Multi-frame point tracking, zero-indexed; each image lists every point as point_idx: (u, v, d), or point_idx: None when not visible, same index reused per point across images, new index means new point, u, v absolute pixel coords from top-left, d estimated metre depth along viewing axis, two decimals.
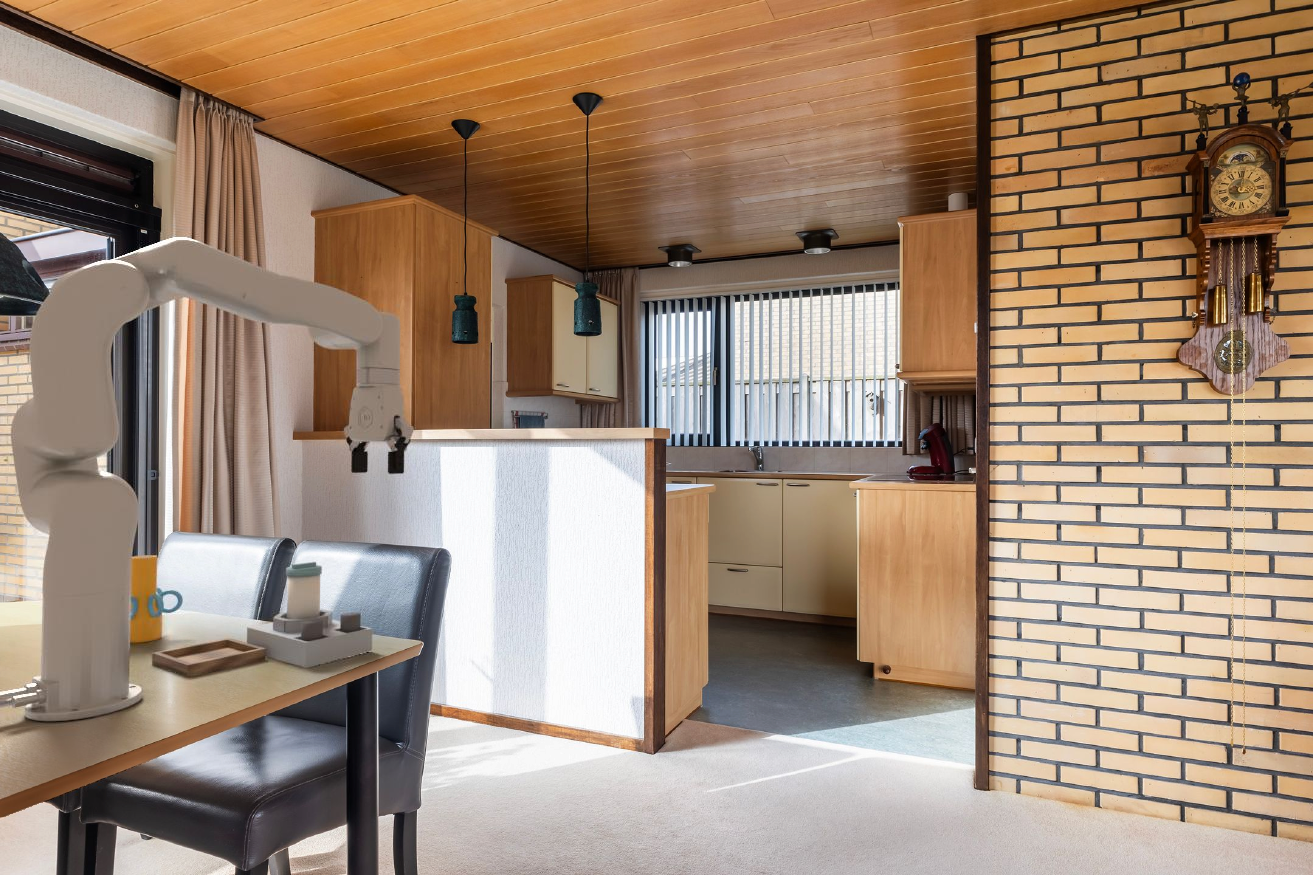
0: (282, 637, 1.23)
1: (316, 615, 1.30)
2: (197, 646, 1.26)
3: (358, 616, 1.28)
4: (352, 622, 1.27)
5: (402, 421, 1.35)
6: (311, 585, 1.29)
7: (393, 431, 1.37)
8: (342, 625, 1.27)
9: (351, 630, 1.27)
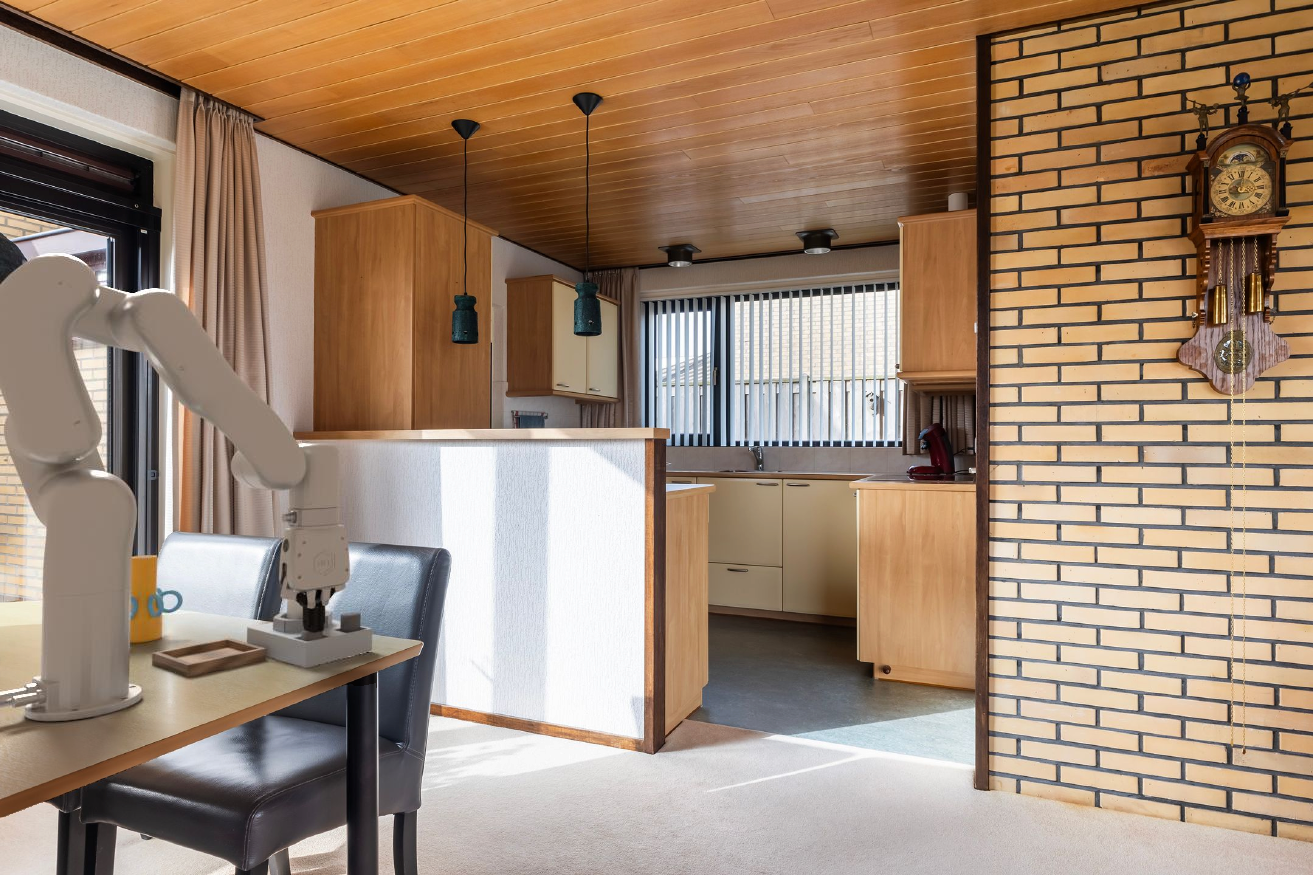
0: (282, 637, 1.23)
1: None
2: (197, 646, 1.26)
3: (358, 616, 1.28)
4: (352, 622, 1.27)
5: None
6: None
7: None
8: (342, 625, 1.27)
9: (351, 630, 1.27)
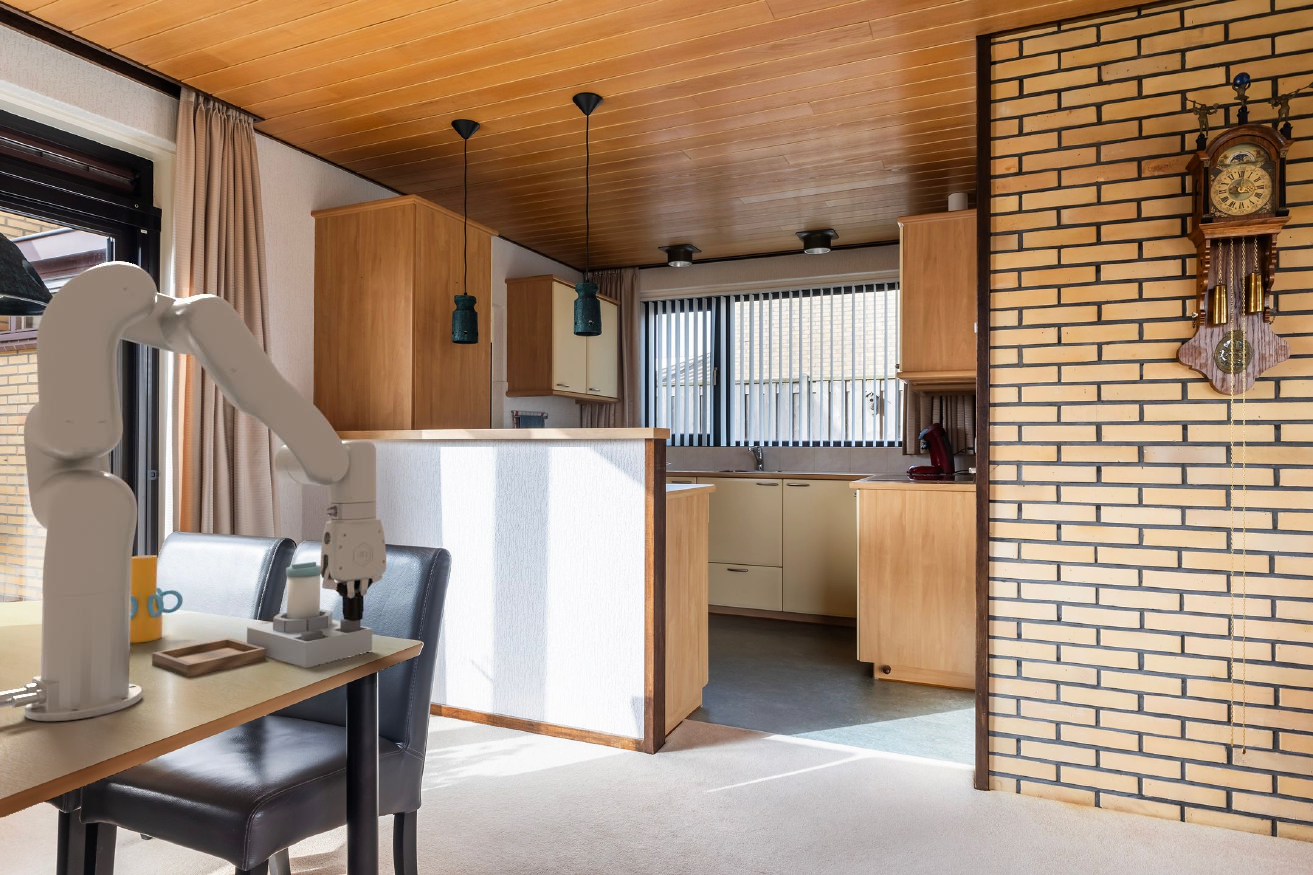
0: (282, 637, 1.23)
1: (316, 615, 1.30)
2: (197, 646, 1.26)
3: (358, 621, 1.28)
4: (352, 627, 1.27)
5: None
6: (311, 585, 1.29)
7: None
8: (342, 630, 1.27)
9: None
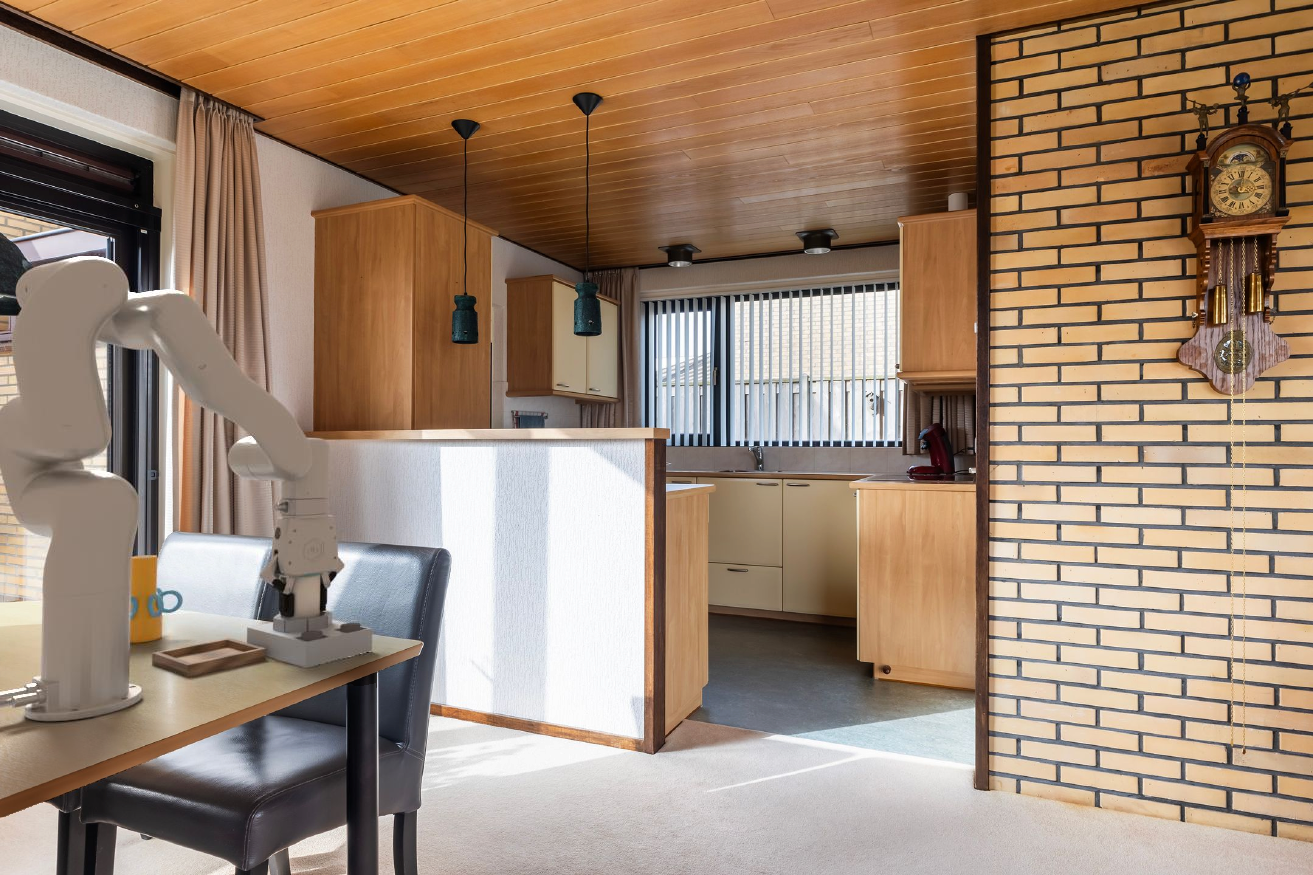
0: (282, 637, 1.23)
1: (316, 615, 1.30)
2: (197, 646, 1.26)
3: (358, 626, 1.28)
4: None
5: None
6: (311, 585, 1.29)
7: None
8: None
9: None
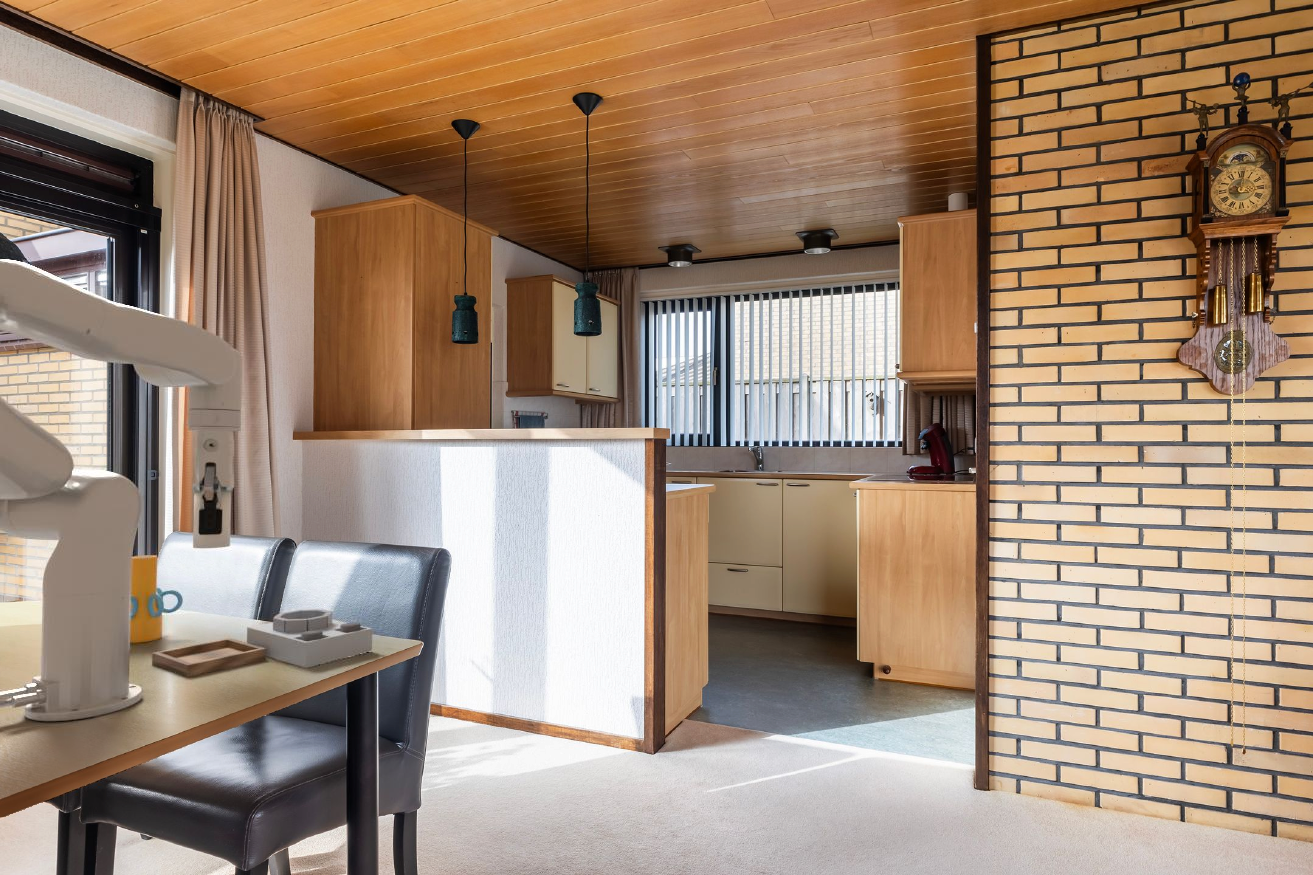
0: (282, 637, 1.23)
1: None
2: (197, 646, 1.26)
3: (358, 626, 1.28)
4: None
5: None
6: (230, 501, 1.24)
7: None
8: None
9: None
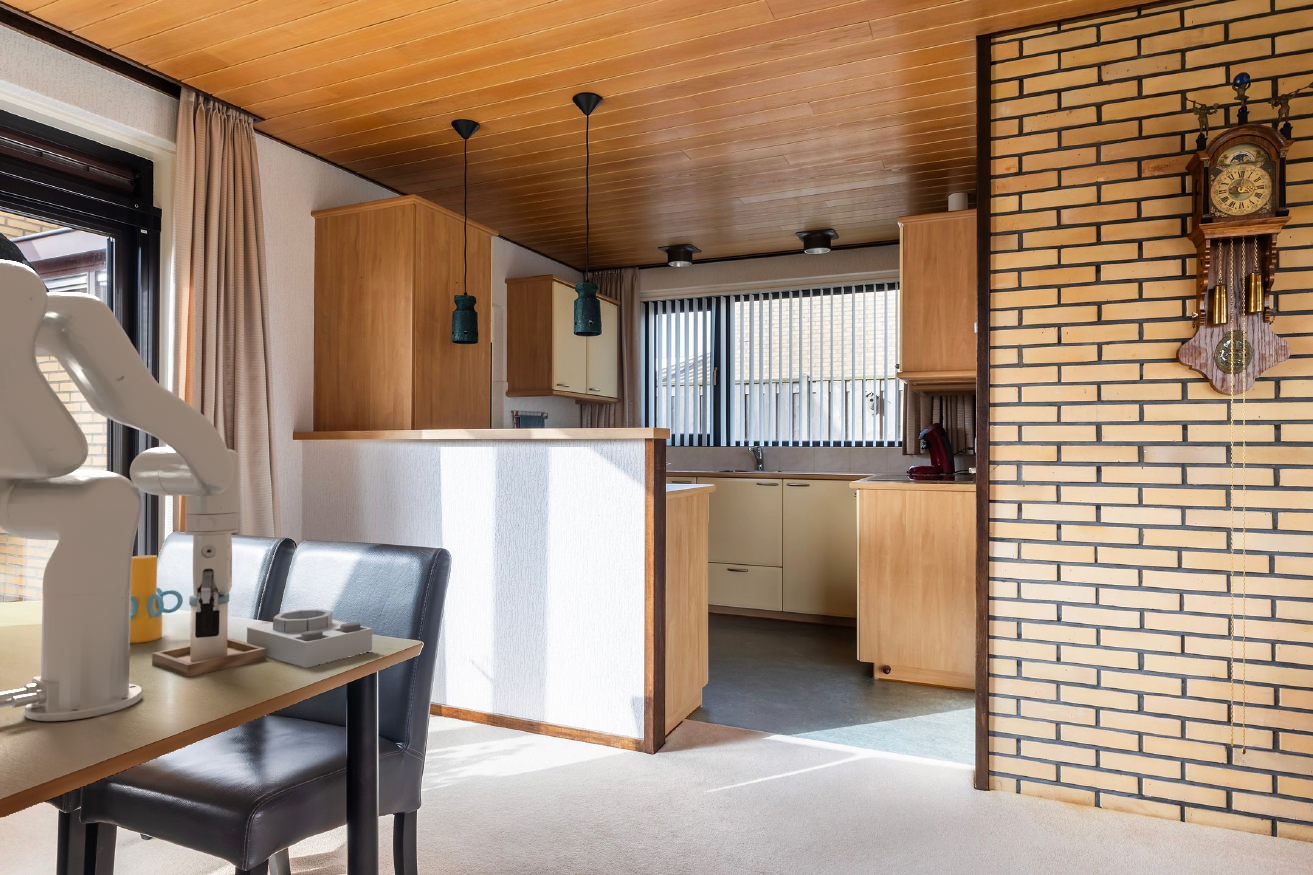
0: (282, 637, 1.23)
1: None
2: None
3: (358, 626, 1.28)
4: None
5: None
6: (227, 611, 1.24)
7: None
8: None
9: None
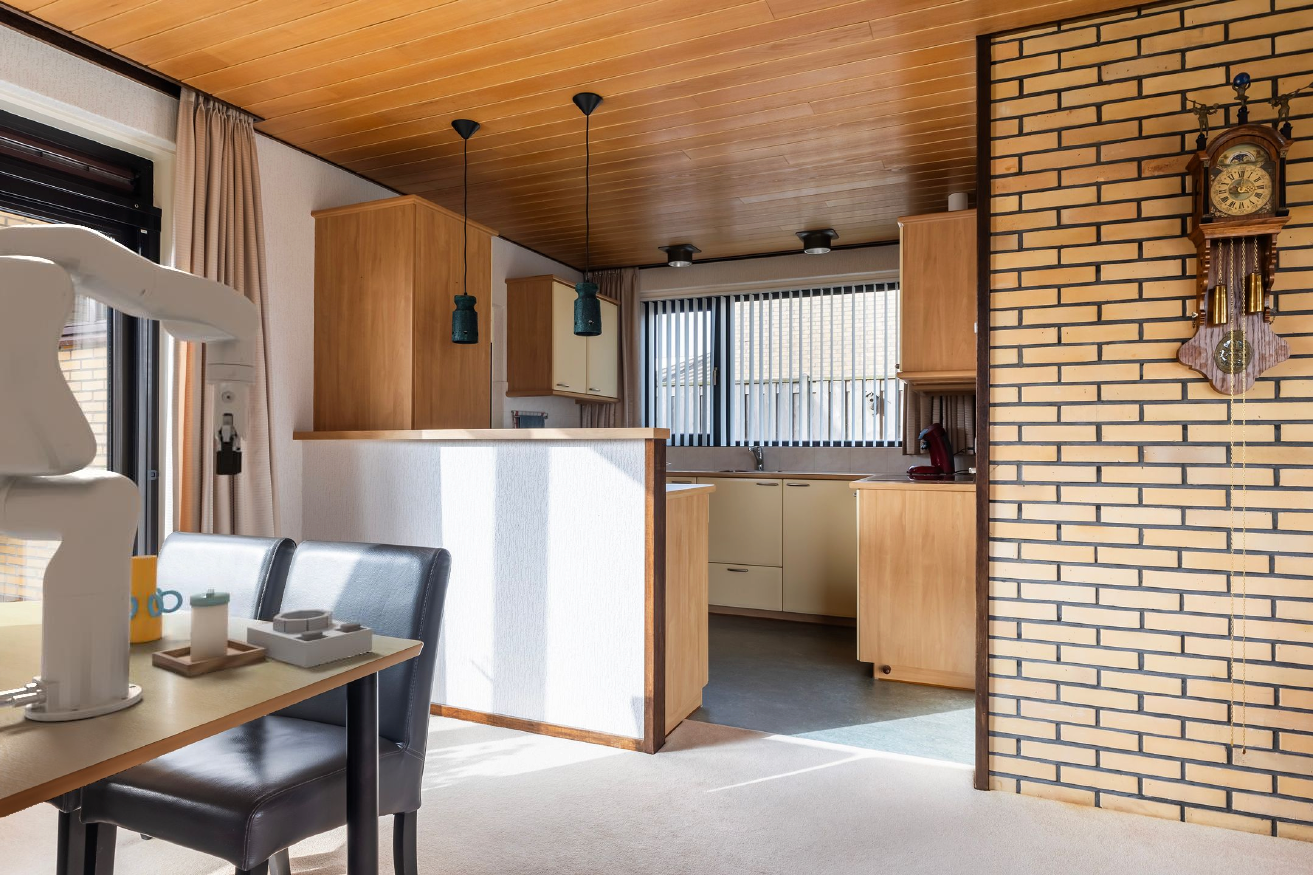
0: (282, 637, 1.23)
1: None
2: None
3: (358, 626, 1.28)
4: None
5: None
6: (227, 611, 1.23)
7: None
8: None
9: None
